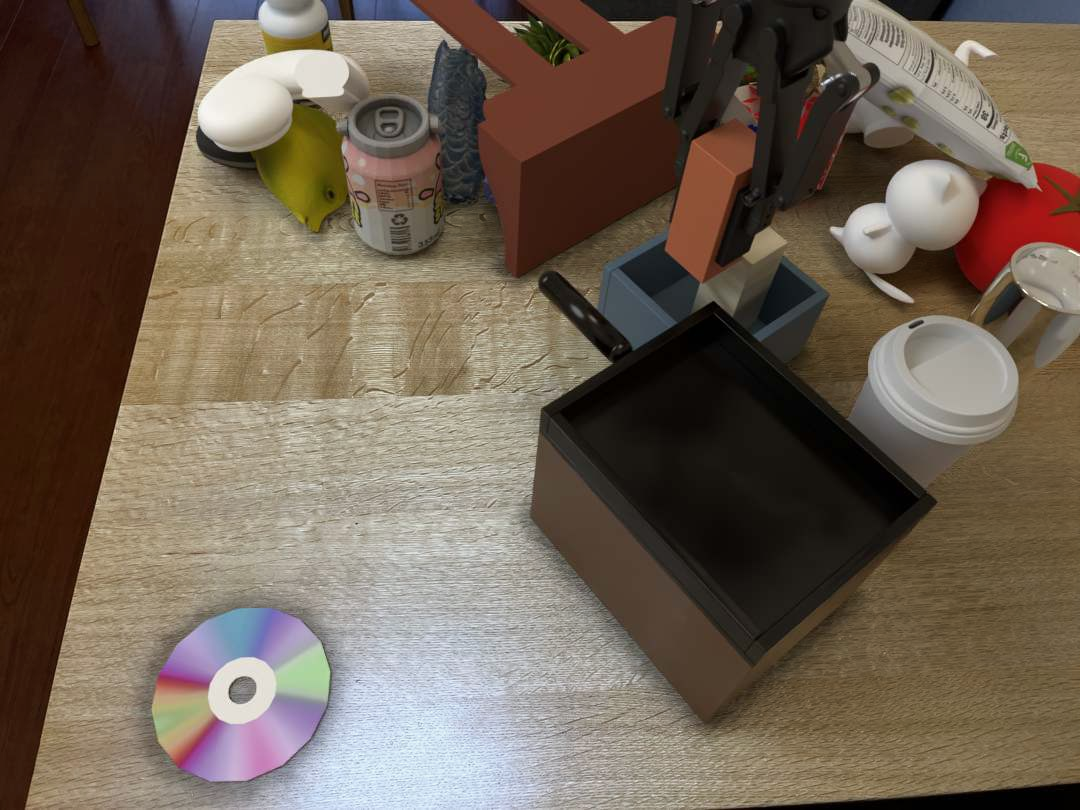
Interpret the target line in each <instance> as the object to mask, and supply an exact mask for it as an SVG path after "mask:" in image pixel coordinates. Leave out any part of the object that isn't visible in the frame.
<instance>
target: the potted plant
mask: <svg viewBox="0 0 1080 810" xmlns="http://www.w3.org/2000/svg"><path fill="white" fill-rule="evenodd" d="M526 15H527V17H528V22H529V25H526V24H523V23H519V25H520V26H522V27H524V28H525V29H524V28H518V27H515V26H512V29H513V30H514V31H515V32H513V31H510V32H511V33H513V34H514V35H515V36H516V37H518V38H519V39H520V40H521V41H523V42H524V43H525V44H526V45H528V46H529V47H530V48H531V49H533V50H534V51H535V52H536V53H537V54H539V55H540V56H541V57H542V58H544V59H545V60H546V61H547V62H549V63H550V64H551V65H552V66H554V67H557V66H559V65H561V64H563V63H565V62H567V61H569V60H571V59H574V58H576V57H578V56H580V55H582V54H584V52H582V51H581V50H580V49H579V48H577V47H576V46H575V45H573V44H572V43H571V42H570V41H568V40H567V39H566V38H564V37H563V36H562V35H561V34H559V33H558V32H557V31H555V30H554V29H553V28H552V27H550V26H549V25H548V24H546V23H545V22H544V21H543V20H541V19H540V18H539V17H538V16H536V17H537V18H538V20H539V21H540V22H539V21H538V20H536V19H535V18H534V17H533V16H532V15H530V14H529V13H528V12H526ZM495 79H496V80H498V81H500V82H501V83H504V84H507V83H506V82H505V81H504V80H502V79H501V78H495ZM507 85H508V84H507ZM508 88H509V89H510V88H512V87H511V86H509V85H508Z"/></svg>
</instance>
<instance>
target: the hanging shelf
mask: <svg viewBox="0 0 1080 810" xmlns="http://www.w3.org/2000/svg"><path fill="white" fill-rule="evenodd" d="M408 1H409V2H410V3H411V4H413V5H414V6H415V7H416V8H417V9H418V10H419V11H421V12H422V13H423V14H424V15H425V16H427V17H428V18H429V19H430V20H431V21H432V22H434V23H435V24H436V25H437V26H439V28H441V29H442V30H443V31H444V32H445V33H446V34H448V35H449V36H450V37H451V38H453V39H454V40H455V41H456V42H457V43H458V44H460V46H461V45H462V46H463V47H465V48H466V49H467V50H468V51H469V52H470V53H471V54H472V55H474V56H475V57H476V58H477V59H478V61H480V62H481V63H482V64H483V65H485V67H487V68H488V69H489V70H490V71H492V72H493V73H494V74H495V75H497V76H498V78H499V79H501V80H504V81H505V82H506V83H507V85H508V87H509V86H511V87H512V88H510V87H509V88H508V89H506V90H504V91H502V92H499V93H496V94H495V95H493V96H491V97H489V98H486V100H485V101H484V104H483V114H484V117H485V119H486V120H485V121H483V122H481V123H479V124H478V145H479V154H480V159H481V163H482V166H483V170H484V173H485V175H486V178H487V181H488V183H489V186H490V189H491V191H492V194H493V197H494V199H495V202H496V205H495V206H496V208H497V212H498V215H499V219H500V223H501V228H502V229H501V230H502V233H503V234H502V235H503V242H504V265H503V267H504V268H505V269H506V270H507V271H508V272H509V273H510V274H511V275H512V276H513V277H514V278H519V277H520V276H522V275H524V274H526V273H528V272H529V271H531V270H532V269H534V268H536V267H538V266H539V265H542V264H543V263H544V262H547V261H548V260H550V259H552V258H554V257H555V256H557V255H559V254H560V253H562V252H564V251H566V250H567V249H569V248H571V247H572V246H574V245H576V244H577V243H579V242H582V241H583V240H585V239H587V238H589V237H590V236H591V235H593V234H596V233H597V232H598V231H600V230H602V229H605V228H606V227H607V226H609V225H611V224H612V223H614V222H615V221H617V220H619V219H621V218H623V217H624V216H626V215H628V214H630V213H632V212H633V211H635V210H637V209H638V208H640V207H642V206H644V205H645V204H647V203H649V202H650V201H653V200H654V199H656V198H658V197H659V196H661V195H662V194H664V193H666V192H668V191H670V190H671V189H673V188H675V187H677V186H678V182H679V177H678V176H677V175H676V174H675V170H674V165H675V161H676V157H677V153H678V149H679V144H680V139H679V136H678V129H679V128H678V126H677V125H676V123H675V122H674V121H673V120H672V121H667V120H665V118H664V117H663V115H662V112H661V106H662V100H663V94H664V88H665V82H666V76H667V71H668V65H669V59H670V53H671V47H672V41H673V36H674V30H675V24H676V18H677V17H674V16H669V15H664V16H661V17H659V18H656V19H655V20H652V21H650V22H648V23H646V24H644V25H641V26H639V27H637V28H635V29H633V30H631V31H629V32H627V33H624V32H623V31H622V30H621V29H619V28H617V27H616V26H615V25H614V24H612V23H611V22H609V21H608V20H607V19H606V18H604V17H602V16H601V15H600V14H599V13H597V12H596V11H595V10H594V9H592V8H591V7H589V5H586V4H585V3H584V2H582V1H581V0H516V1H517V2H518V3H519V4H521V5H522V6H523V7H524V8H526V9H527V10H528V11H529V12H531V13H532V14H534V15H535V16H536V17H537V16H538V17H539V18H540V19H541V20H543V21H544V22H545V23H546V24H548V25H549V26H550V27H552V28H553V29H554V30H555V31H557V32H558V33H559V34H561V35H562V36H563V37H564V38H566V39H567V40H568V41H570V42H571V43H572V44H573V45H575V46H576V47H577V48H579V49H580V50H581V51H582V52H584V54H582V55H580V56H578V57H576V58H574V59H571V60H569V61H567V62H565V63H563V64H561V65H559V66H557V67H554V66H552V65H551V64H550V63H549V62H547V61H546V60H545V59H544V58H542V57H541V56H540V55H539V54H537V53H536V52H535V51H534V50H533V49H531V48H530V47H529V46H528V45H526V44H525V43H524V42H523V41H521V40H520V39H519V38H518V37H516V36H517V35H515V34H513V33H511V32H512V31H510V29H508V28H507V27H506V26H504V24H502V23H501V22H499V21H498V20H497V19H495V18H494V17H493V16H492V15H491V14H489V13H488V12H487V11H485V10H484V9H483V8H482V7H481V6H480V5H478V4H477V3H476V2H475V1H473V0H408ZM538 17H537V18H538ZM539 18H538V19H539ZM718 33H719V32H718ZM718 33H717V31H715V36H714V41H713V44H714V42H715V40H716V38H717V35H718ZM712 46H713V45H712ZM710 61H711V58H710V60H709V63H710ZM708 65H709V64H708ZM506 83H505V84H506ZM683 93H684V91H683ZM721 120H722V118H721ZM720 124H721V122H720V123H719V125H720Z"/></svg>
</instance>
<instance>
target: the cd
mask: <svg viewBox="0 0 1080 810" xmlns="http://www.w3.org/2000/svg"><path fill="white" fill-rule="evenodd" d="M331 673H332V671H331V669H330V666H329V662H328V659H327V657H326V654H325V651H324V648H323V644H322V641H321V640H320V639H319V637H317V635H315V634H314V633H313V632H312V631H311V630H310V628H309V627H308V626H307V625H306V624H305V623H304V622H303V620H301V619H300V618H299V617H298V618H297V617H295V616H292V615H290V614H288V613H285V612H282V611H280V610H278V609H275V608H273V607H241V608H240V607H238V608H235V609H233V610H230V611H228V612H225V613H222V614H219V615H217V616H215V617H212V618H209V619H207V620H205V621H203V622H202V623H200V625H198V626H197V627H196V628H195V629H194V630H193V631H192V632H190V633H189V634H187V636H185V637H184V638H183V639H182V640H181V641H179V642H178V643H177V644H176V646H175V647H174V649H173V651H172V652H171V654H170V655H169V657H168V658H167V660H166V662H165V664H164V665H163V667H162V669H161V670H160V672H159V673H158V674H157V680H156V685H155V691H154V695H153V699H152V704H151V714H152V718H153V723H154V728H155V732H156V738H157V742H158V744H159V745H160V746H161V747H162V749H163V750H164V751H165V752H166V754H167V755H168V757H170V759H171V760H172V761H173V762H174V763H175V765H176V766H177V767H178V769H180V770H183V771H185V772H187V773H189V774H192V775H193V776H196V777H199V778H201V779H203V780H205V781H207V782H211V783H214V782H216V783H219V782H248V781H250V780H252V779H255V778H257V777H259V776H262V775H264V774H266V773H268V772H271V771H273V770H276V769H278V768H280V767H282V766H284V765H285V764H286V763H287V762H288V761H289V760H290V759H291V758H292V757H293V756H294V755H296V753H297V752H299V750H301V749H302V748H303V747H304V746H305V745H306V744H307V743H308V742H309V741H310V740H311V739H312V737H313V735H314V733H315V732H316V729H317V727H318V725H319V723H320V722H321V719H322V717H323V715H324V713H325V711H326V709H327V707H328V704H329V703H328V702H329V692H330V682H331ZM243 677H248V678H250V679H252V680H253V681H254V683H255V685H256V690H255V693H254V695H253V697H252V698H251V699H250V700H249V701H247V702H245V703H237V702H234V701H232V700H231V699H230V695H229V690H230V687H231V685H232V684H233V683H234V682H235V681H236V680H237V679H239V678H243Z"/></svg>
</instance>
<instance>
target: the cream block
mask: <svg viewBox="0 0 1080 810" xmlns="http://www.w3.org/2000/svg"><path fill="white" fill-rule="evenodd" d="M788 244H789V241H788V240H786V239H785V238H784V237H782V236H781V235H780V234H778V233H777V232H776V231H775V230H774V229H772V228H771V227H770V226H768V227H767V228H766V229H764V230H763V231H761V232H759V233H758V234H756V235H755V237H754V240H753V243H752V245H751V248H750V251H749V252H747V253H746V254H744V255H743V256H742V259H741V260H740V261H739V262H737V263H736V264H734V265H732V266H731V267H729V268H727V269H726V270H724V271H723V272H721V273H719V274H718V275H716V276H714V277H713V278H711V279H710V280H708V281H706V282H705V283H703V284H702V283H701V282H700V285H699V288H698V291H697V295H696V298H695V301H694V304H693V308H692V311H691V314H693V313H694V312H696V311H697V310H699V309H701V308H702V307H704V306H705V305H707V304H709V303H710V302H712V301H715V302H716V303H717V304H718V305H719V306H720V307H721V308H723V309H724V310H725V311H726V312H727V313H728V314H729V315H731V316H732V317H733V318H734V319H735V320H736V321H737V322H738V323H739V324H741V325H742V326H743V327H744V328H745V329H746V330H747V329H748V328H750V327H751V326H753V325H754V324H755V322H756V320H757V317H758V315H759V312H760V310H761V307H762V305H763V303H764V300H765V298H766V295H767V293H768V290H769V288H770V286H771V283H772V281H773V278H774V276H775V273H776V271H777V269H778V266H779V264H780V261H781V259H782V256H783V255H784V254H785V252H786V249H787V247H788ZM691 314H690V315H691Z"/></svg>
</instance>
